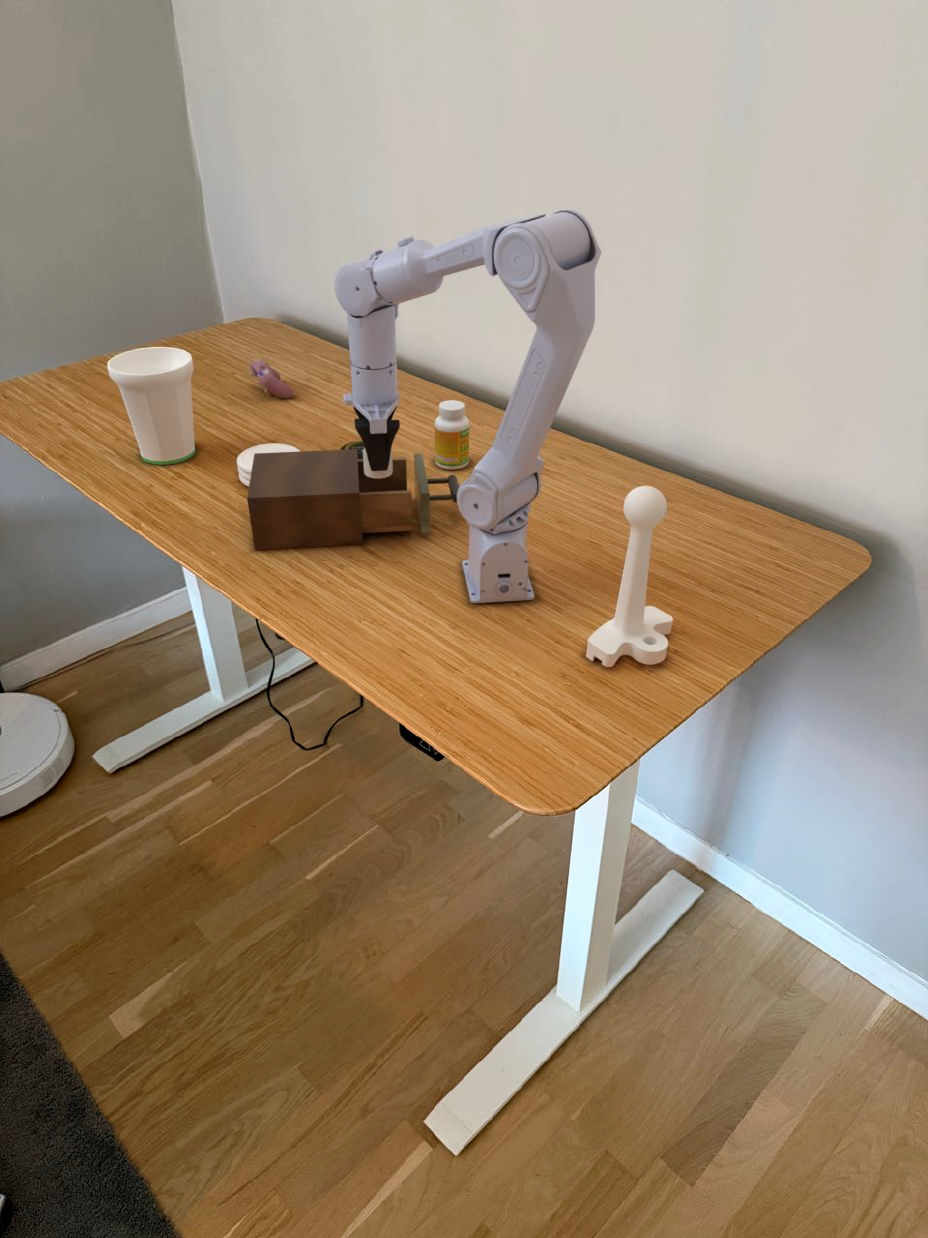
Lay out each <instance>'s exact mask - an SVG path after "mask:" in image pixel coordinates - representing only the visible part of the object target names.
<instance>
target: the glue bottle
mask: <svg viewBox="0 0 928 1238" xmlns="http://www.w3.org/2000/svg"><path fill="white" fill-rule="evenodd" d="M392 458H393V449H392V448H391V453H390V460H389V465H388V469H387V471H372V470H371V468H370V465H369V461H368V457H367V453H366V449H365V448H364V449H363V462H364V473H365V475H366V476H368V477H370V478H385V477H388V476H390V475H391V474H392V473H393V465H392Z"/></svg>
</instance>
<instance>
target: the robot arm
mask: <svg viewBox="0 0 928 1238" xmlns="http://www.w3.org/2000/svg"><path fill="white" fill-rule="evenodd" d="M601 255H602V249H601V248H600V246H599V243H598V241H597V237H596V235H595V233H594V230H593V228H592V226H591V224H590V223H589V221H588V219H587V218H586V217H585V216H584V215H583V214H581V213H580V212H578V211H576V210H573V209H568V208H565V209H564V208H563V209H559V210H557V211H555V212H553V213H552V214H549V215H547V214H546V213H542V214H535V215H534V214H533V215H528V216H524V217H518V218H513V219H508V220H504V221H500V222H497V223H496V222H495V223H493V224H490V225H486V226H484V227H481V228H478V229H475V230H473V231H470V232H469V233H466V234H463V235H461V236H458V237H457V238H453V239H452V240H449V241H447V242H444V243H441V244H440V245H437V246H435V245H433V244H432V243H431V242H429V241H427V240H425V239H415V238H414V237H413V236H409V237H404V238H402V239H399V240H397V247H395V248H391V249H389V250H387V251H383V250H382V249H377V250H374V251H371V252H370V253H369V258H366V259H362V260H360V261H355V262H347V263H345V265H343V266H342V267H341V268H339V270H338V271H337V272H336V275H335V277H334V292H335V296H336V300H337V301H338V303H339V305H340V307H341V308H342V309H343V310H344V311H345V312H346V319H347V334H348V336H347V337H348V348H349V349H348V350H349V364H350V379H351V381H350V382H351V393H345V394H343V395H342V398H343V399H342V400H343V404H344V405H346V406H353V410H354V412H355V414H356V416H357V418H354V419H353V421H354V428H355V431H356V433H357V434H358V436H359V437H360V439H361V441H363V443H364V446H365V449H366V453H367V457H368V461H369V465H370V468H371V470H372V471H387V469H388V465H389V460H390V453H391V449H392V447H393V443H394V439H395V437H396V436H397V434H398V433H399V430H400V426H401V422H400V419H393V417H394V414H395V412H396V410H397V408H398V405H399V403H400V401H401V400H400V394H399V391H398V362H397V333H396V332H397V331H396V320H397V317H399V305H400V304H402V303H405V302H409V301H413V300H415V299H418V298H421V297H426V296H428V295H431V294H434V293H436V292H437V291H438V290H439V289H440V288H441V287H442V285H443V281H444V277H446V276H450V275H453V274H456V273H459V272H463V271H467V270H470V269H473V268H478V267H481V266H485V268H486V270H487V273H488V275H490V276H491V277H495V276H498V278H499V280H500V281H501V282H502V284H503V285H504V287H505V288H506V289H507V291H508V292H509V294H510V295H511V296H512V298H513V299H514V300H515V301H516V303H517V304H518V305H519V307H520V308H521V310H522V311H523V312H524V314H525V315H526V316H527V317H528V318H529V321H531V322H532V323H534V324H535V327H536V330H535V333H534V335H533V337H532V340H531V343H530V345H529V349H528V350H527V353H526V357H525V359H524V361H523V364H522V367H521V370H520V372H519V374H518V377H517V380H516V383H515V385H514V387H513V391H512V393H511V395H510V398H509V401H508V403H507V406H506V409H505V411H504V414H503V416H502V419H501V421H500V424H499V427H498V429H497V432H496V435H495V438H494V440H493V443H492V445H491V447H490V448H489V450H488V451H487V452H486V453H485V455H483V457H482V458H481V459H480V460H479V461H478V462H477V464H476V465H475V466H474V468H473V469H472V473H471V475H470V476H469V478H467V479H466V480H465V481H463V482H462V483H461V484H459V489H458V492H457V503H456V504H457V507H458V510H459V512H460V515H461V516H462V518H464V520H465V521H466V525H468V559H465V560H464V559H463V561H462V562H461V566H462V570H463V575H464V579H465V582H466V587H467V592H468V597H469V601H470V603H472V604H485V603H501V602H502V603H503V602H518V601H532V600H534V599H535V592H534V590H533V586H532V583H531V581H530V577H529V563H530V557H529V552H528V549H527V546H528V545H527V544H528V527H529V526H528V525H529V513H530V512H531V505H532V504H531V503H532V502H533V501H535V500H536V499H537V498H538V497H539V495H540V493H541V489H542V471H543V469H544V466H545V460H544V459H543V458H542V456H541V455H540V452H541V450H542V448H543V446H544V443H545V441H546V438H547V436H548V434H549V432H550V430H551V427H552V425H553V423H554V421H555V417H556V415H557V414H558V411H559V408H560V407H561V405H562V401H563V399H564V397H565V394H566V393H567V390H568V389H569V385H570V383H571V381H572V378H573V377H574V374H575V371H576V369H577V367H578V365H579V362H580V360H581V358H582V356H583V353H584V351H585V349H586V346H587V345H588V342H589V339H590V337H591V335H592V333H593V331H594V326H595V322H596V287H595V286H596V269H597V266H598V263H599V260H600V257H601Z"/></svg>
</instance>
